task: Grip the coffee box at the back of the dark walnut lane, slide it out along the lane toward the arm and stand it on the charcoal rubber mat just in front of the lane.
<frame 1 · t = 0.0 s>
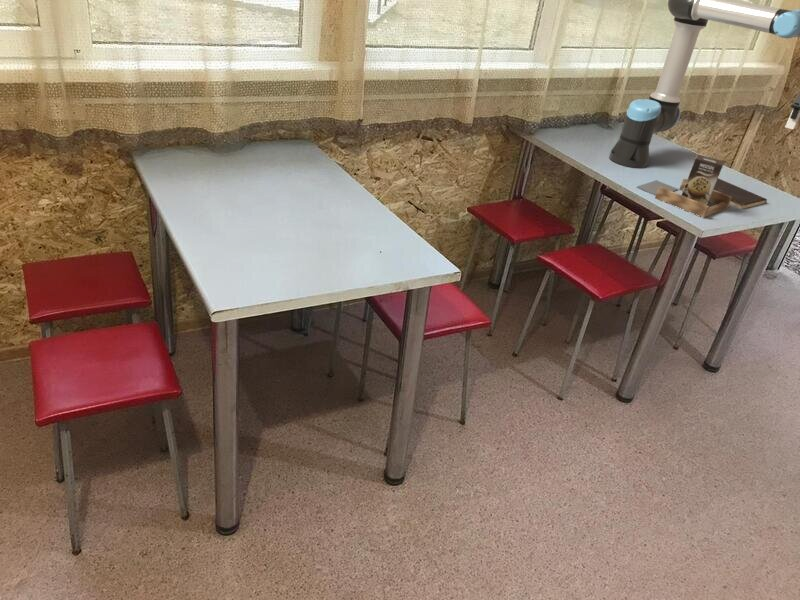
hand: (796, 126, 225), 28 cm above the table, tool pointing down, fingers open, 13 cm apart
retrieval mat: (657, 188, 237), on the table
hardcover book: (724, 195, 242), on the table
shelf lane: (691, 202, 229), on the table
coffee box: (692, 203, 229), resting in shelf lane
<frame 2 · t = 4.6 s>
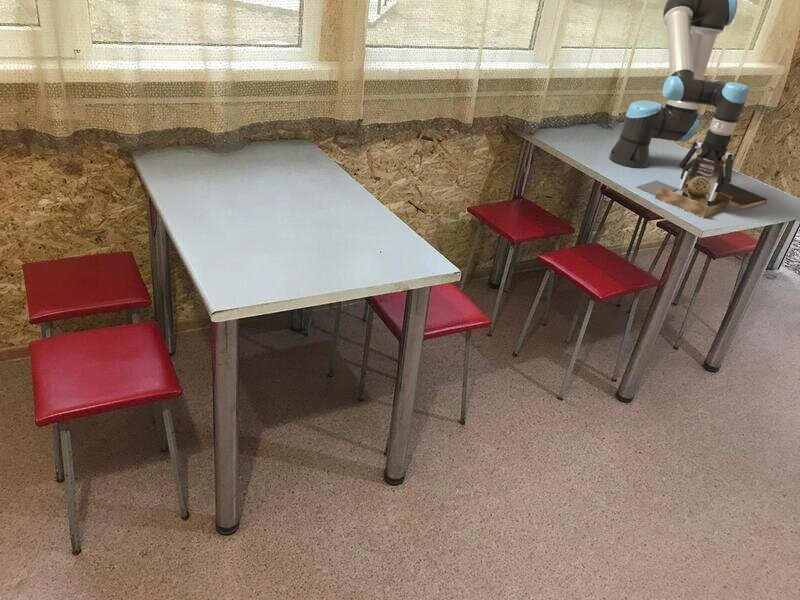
hand: (696, 194, 227), 3 cm above the table, tool pointing down, fingers closed on coffee box, 10 cm apart
coffee box: (692, 203, 229), resting in shelf lane, touching gripper
everything else where it was.
when the fingers open (5 cm above the table, at t = 9.2 s): coffee box stays where it is, resting on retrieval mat.
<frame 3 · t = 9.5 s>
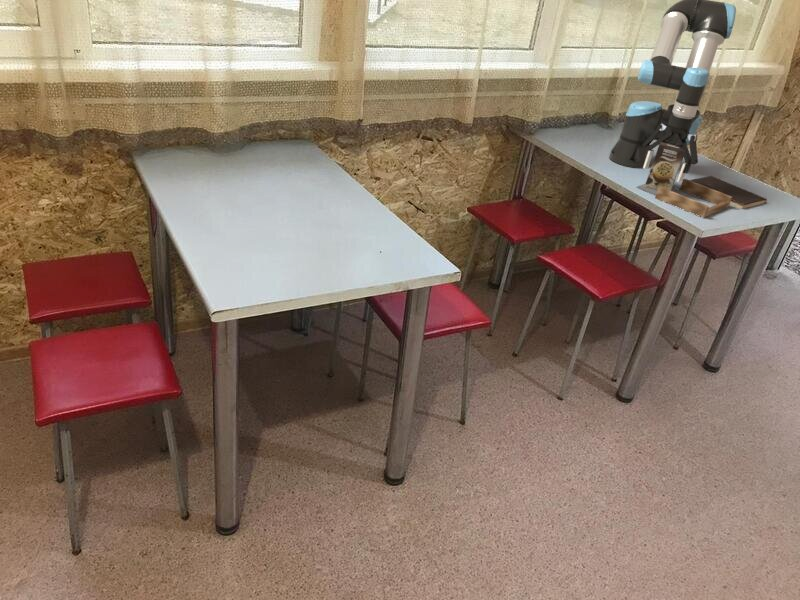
hand: (662, 174, 234), 5 cm above the table, tool pointing down, fingers open, 13 cm apart
coffee box: (658, 188, 237), resting on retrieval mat
everything else where it was.
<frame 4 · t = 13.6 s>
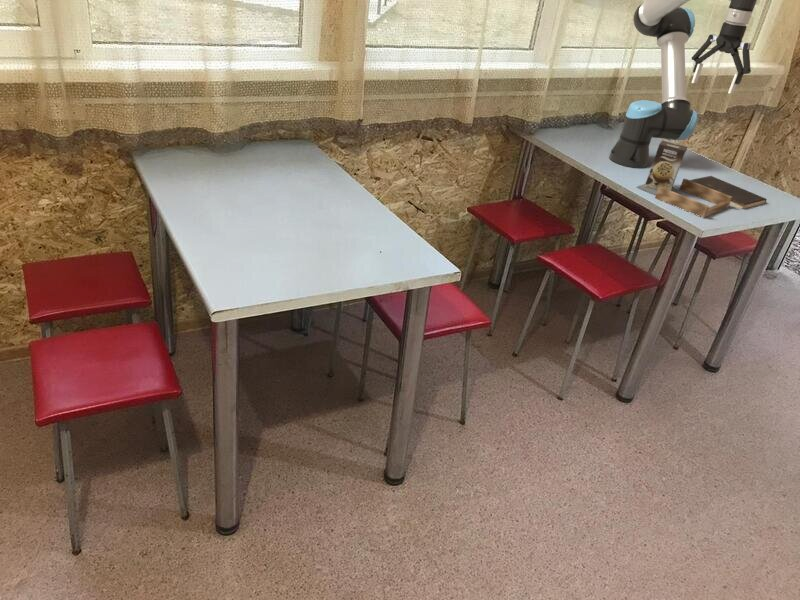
hand: (712, 87, 229), 35 cm above the table, tool pointing down, fingers open, 13 cm apart
nothing on the table moved.
at the end: coffee box inside the target area (0.6 cm from its centre), resting on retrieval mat; coffee box tilted 0°; the gripper is holding nothing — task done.
